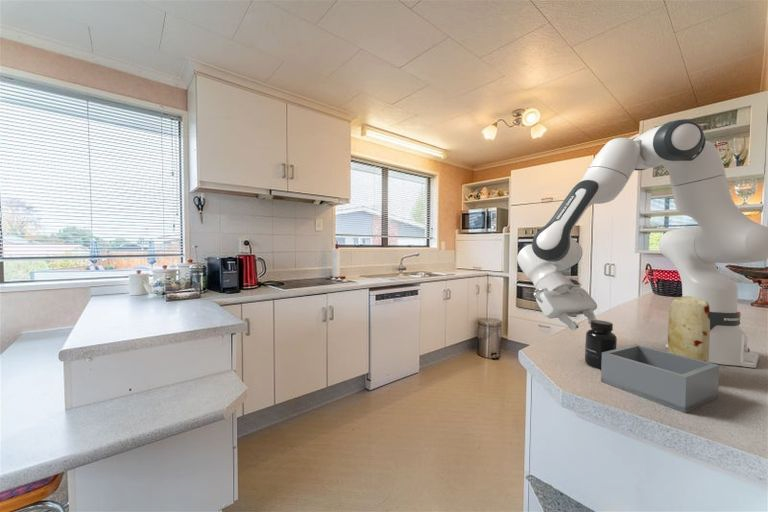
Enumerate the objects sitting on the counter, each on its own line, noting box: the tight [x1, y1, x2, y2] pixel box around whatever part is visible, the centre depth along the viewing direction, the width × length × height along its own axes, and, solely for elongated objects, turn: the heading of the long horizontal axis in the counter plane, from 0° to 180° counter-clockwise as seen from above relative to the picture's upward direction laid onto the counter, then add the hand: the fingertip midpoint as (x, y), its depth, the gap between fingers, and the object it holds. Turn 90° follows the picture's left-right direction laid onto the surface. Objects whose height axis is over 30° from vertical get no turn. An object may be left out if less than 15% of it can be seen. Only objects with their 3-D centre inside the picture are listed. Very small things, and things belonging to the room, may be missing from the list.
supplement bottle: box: [584, 319, 618, 370], centre depth 81 cm, size 7×7×12 cm
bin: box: [600, 344, 720, 414], centre depth 68 cm, size 15×15×7 cm
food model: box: [667, 295, 710, 363], centre depth 75 cm, size 10×7×20 cm
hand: (585, 327), depth 84 cm, fingers open, 8 cm apart
